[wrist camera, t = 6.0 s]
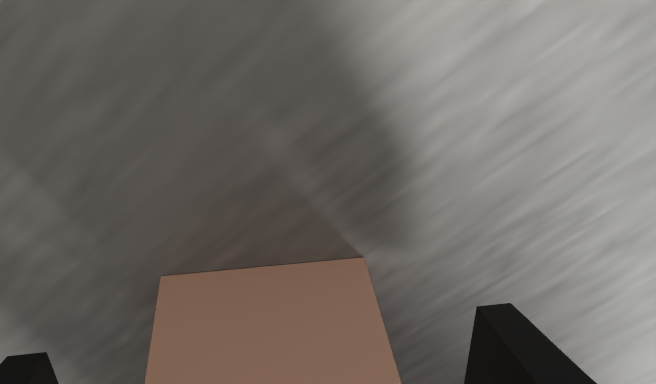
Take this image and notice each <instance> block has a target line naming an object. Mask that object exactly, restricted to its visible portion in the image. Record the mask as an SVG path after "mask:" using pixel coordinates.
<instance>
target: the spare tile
mask: <svg viewBox="0 0 656 384" xmlns="http://www.w3.org/2000/svg"><path fill="white" fill-rule="evenodd" d="M145 384H402V383H401V380H400V377H399V373H398V370H397V367H396V363H395V360H394V356H393V353H392V350H391V346H390V343H389V340H388V336H387V333H386V329H385V326H384V323H383V319H382V316H381V313H380V309H379V306H378V302H377V299H376V296H375V292H374V289H373V286H372V282H371V279H370V275H369V272H368V269H367V265H366V262H365V259H364V257H361V258H351V259H340V260H329V261H319V262H308V263H297V264H287V265H276V266H265V267H254V268H244V269H233V270H222V271H212V272H201V273H190V274H180V275H169V276H161V277H160V284H159V291H158V297H157V304H156V311H155V317H154V324H153V331H152V337H151V344H150V351H149V357H148V364H147V371H146V377H145Z"/></svg>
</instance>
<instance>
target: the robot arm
mask: <svg viewBox="0 0 656 384" xmlns="http://www.w3.org/2000/svg"><path fill="white" fill-rule="evenodd" d="M0 384H58V381H57V378H56V376H55V373H54V370H53V368H52V365H51V363H50V360H49V357H48V355H47V352H44V353H34V354H25V355H16V356H7V357H6V358H5V359H4V361H3V362H2V363H1V364H0ZM464 384H597V383H596V382H594V381H593V380H592V379H591V378H590V377H589V376H588V375H587V374H586V373H584V372H583V371H582V370H581V369H580V368H579V367H578V366H577V365H576V364H575V363H574V362H573V361H571V360H570V359H569V358H568V357H567V356H566V355H565V354H564V353H563V352H562V351H561V350H560V349H559V348H558V347H556V346H555V345H554V344H553V343H552V342H551V341H550V340H549V339H548V338H547V337H546V336H545V335H544V334H543V333H542V332H541V331H540V330H539V329H538V328H536V327H535V326H534V325H533V324H532V323H531V322H530V321H529V320H528V319H527V318H526V317H525V316H524V315H523V314H522V313H521V312H520V311H518V310H517V309H516V308H515V307H514V306H513V305H512V304H511V303H506V304H497V305H487V306H478V307H477V308H476V315H475V321H474V327H473V333H472V339H471V345H470V351H469V357H468V363H467V369H466V375H465V381H464Z"/></svg>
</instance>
